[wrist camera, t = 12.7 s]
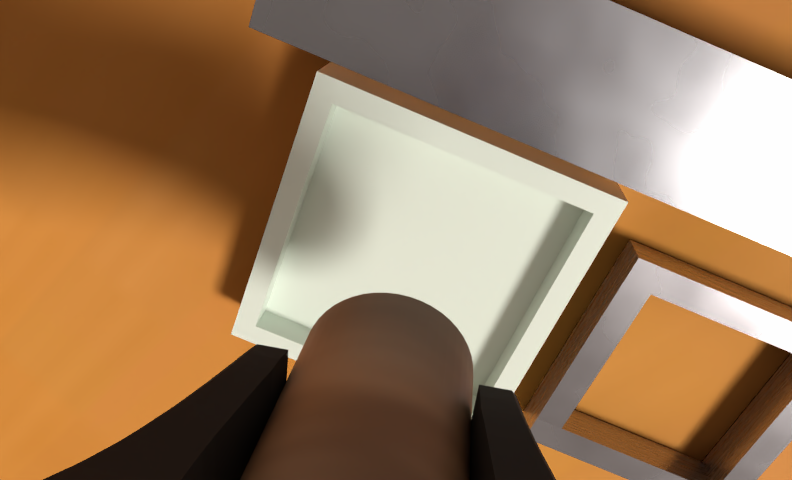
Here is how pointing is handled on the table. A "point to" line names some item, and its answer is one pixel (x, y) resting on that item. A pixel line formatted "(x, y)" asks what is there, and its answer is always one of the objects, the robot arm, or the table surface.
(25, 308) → the table surface
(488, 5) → the bench stop
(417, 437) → the dowel
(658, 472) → the dowel socket
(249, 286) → the tray
